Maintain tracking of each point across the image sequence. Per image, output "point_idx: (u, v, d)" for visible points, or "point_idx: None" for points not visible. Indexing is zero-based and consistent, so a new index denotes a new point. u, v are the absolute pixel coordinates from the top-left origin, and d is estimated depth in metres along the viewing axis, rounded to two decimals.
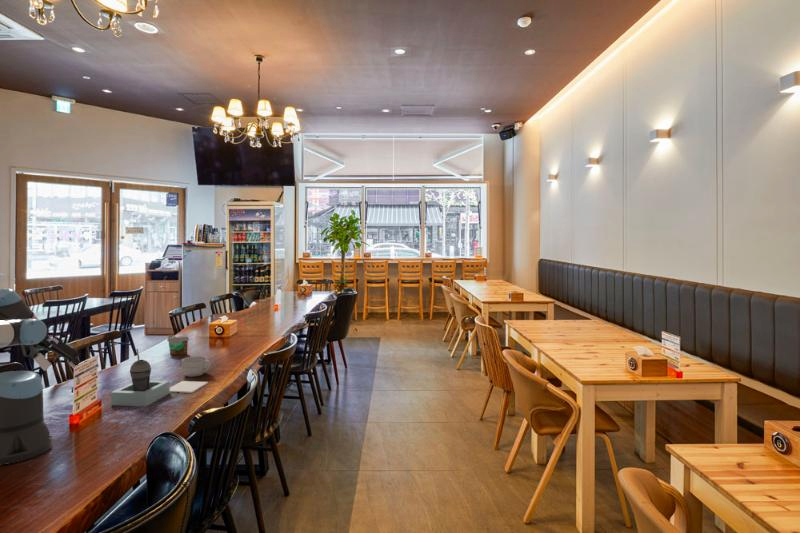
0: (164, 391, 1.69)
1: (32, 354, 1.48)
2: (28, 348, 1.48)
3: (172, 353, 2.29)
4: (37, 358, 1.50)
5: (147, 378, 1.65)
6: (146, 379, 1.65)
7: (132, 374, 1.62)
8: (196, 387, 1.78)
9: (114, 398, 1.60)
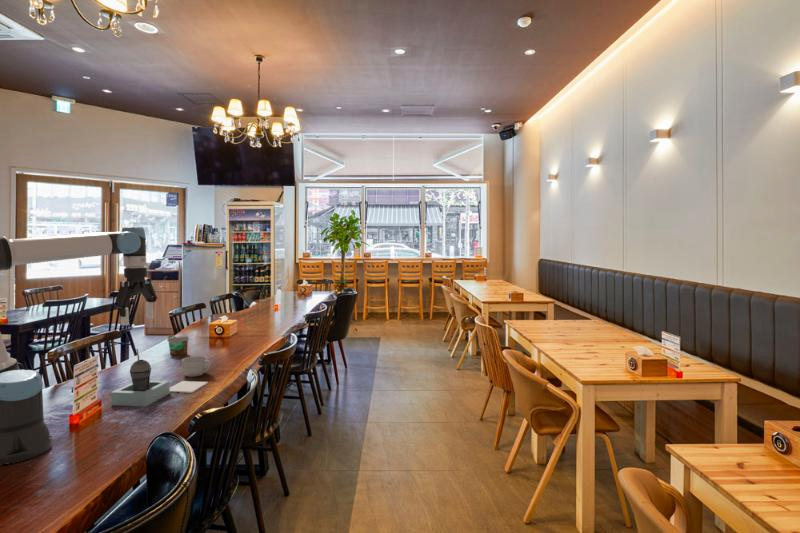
0: (164, 391, 1.69)
1: None
2: (149, 292, 1.71)
3: (172, 353, 2.29)
4: (147, 303, 1.70)
5: (147, 378, 1.65)
6: (146, 379, 1.65)
7: (132, 374, 1.62)
8: (196, 387, 1.78)
9: (114, 398, 1.60)
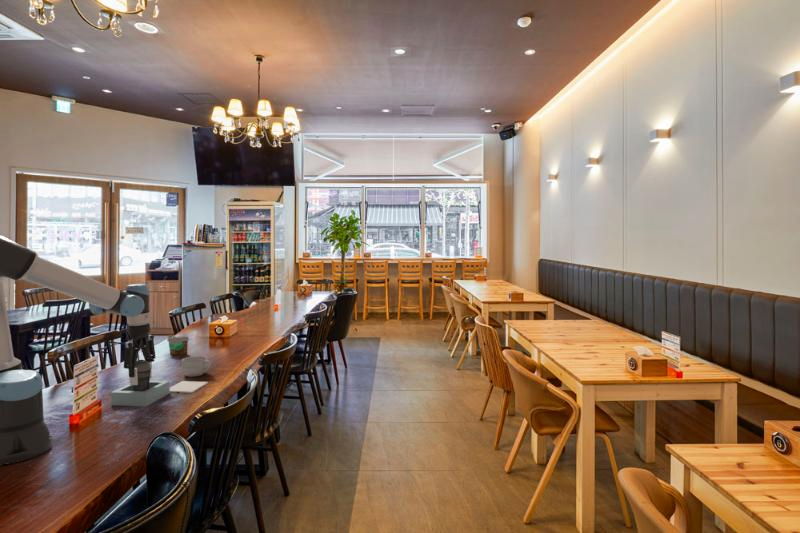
0: (164, 391, 1.69)
1: None
2: (149, 350, 1.71)
3: (172, 353, 2.29)
4: None
5: (147, 378, 1.65)
6: (146, 379, 1.65)
7: None
8: (196, 387, 1.78)
9: (114, 398, 1.60)
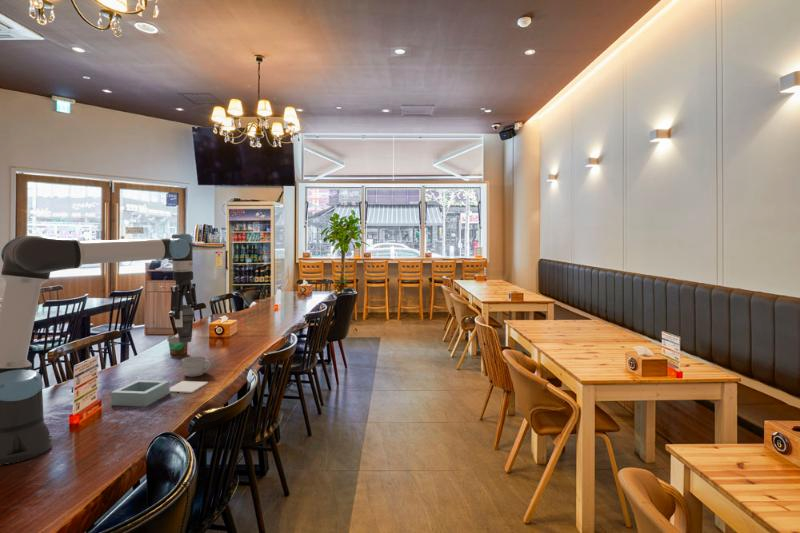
0: (164, 391, 1.69)
1: None
2: (191, 297, 1.82)
3: (172, 353, 2.29)
4: None
5: (191, 322, 1.77)
6: (190, 322, 1.76)
7: None
8: (196, 387, 1.78)
9: (114, 398, 1.60)
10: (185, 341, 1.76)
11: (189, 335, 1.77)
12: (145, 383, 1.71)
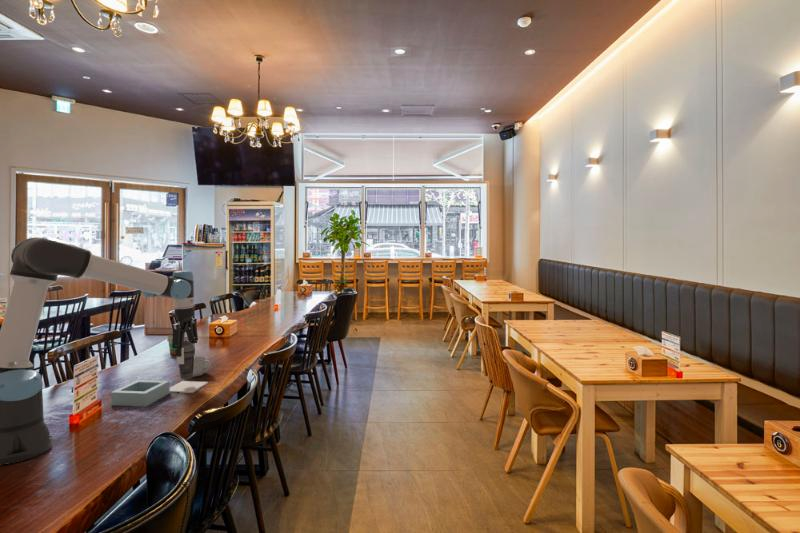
0: (164, 391, 1.69)
1: None
2: (193, 332, 1.83)
3: (172, 353, 2.29)
4: None
5: (192, 358, 1.78)
6: (191, 359, 1.77)
7: None
8: (196, 387, 1.78)
9: (114, 398, 1.60)
10: (186, 377, 1.77)
11: (190, 371, 1.78)
12: (145, 383, 1.71)
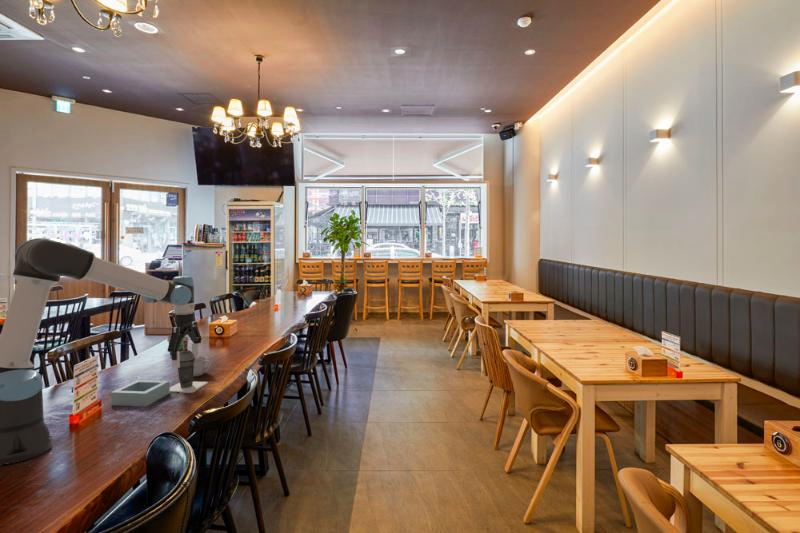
0: (164, 391, 1.69)
1: None
2: (195, 334, 1.85)
3: None
4: (193, 345, 1.85)
5: (192, 367, 1.78)
6: (191, 368, 1.77)
7: None
8: (196, 387, 1.78)
9: (114, 398, 1.60)
10: (186, 386, 1.77)
11: (190, 380, 1.78)
12: (145, 383, 1.71)
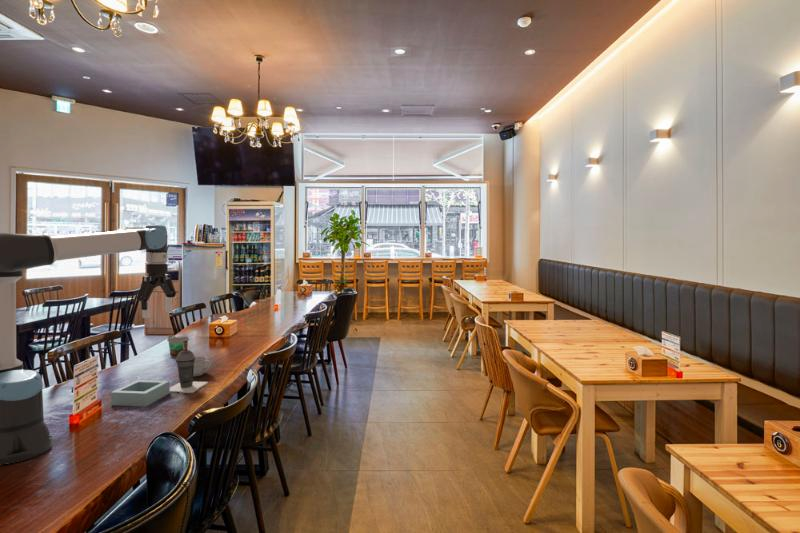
0: (164, 391, 1.69)
1: None
2: (169, 287, 1.79)
3: (172, 353, 2.29)
4: (166, 298, 1.78)
5: (192, 367, 1.78)
6: (191, 368, 1.77)
7: (178, 363, 1.75)
8: (196, 387, 1.78)
9: (114, 398, 1.60)
10: (186, 386, 1.77)
11: (190, 380, 1.78)
12: (145, 383, 1.71)
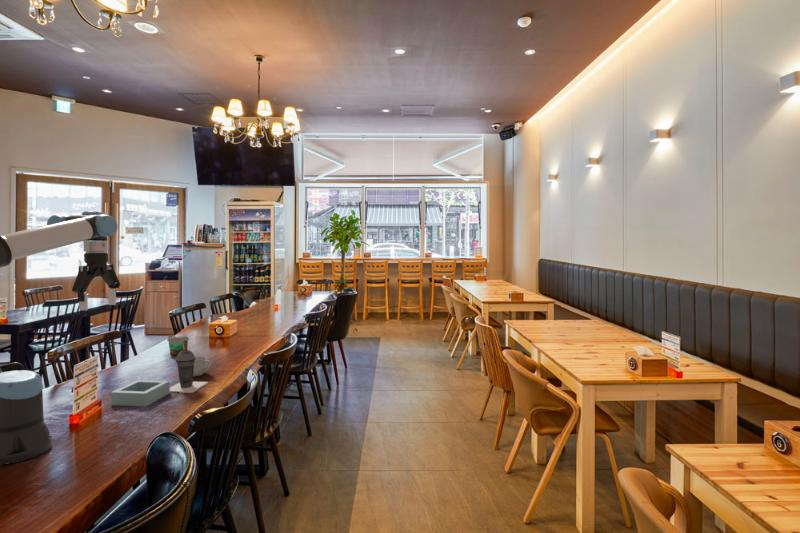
0: (164, 391, 1.69)
1: None
2: (112, 278, 1.69)
3: (172, 353, 2.29)
4: (109, 290, 1.69)
5: (192, 367, 1.78)
6: (191, 368, 1.77)
7: (178, 363, 1.75)
8: (196, 387, 1.78)
9: (114, 398, 1.60)
10: (186, 386, 1.77)
11: (190, 380, 1.78)
12: (145, 383, 1.71)
